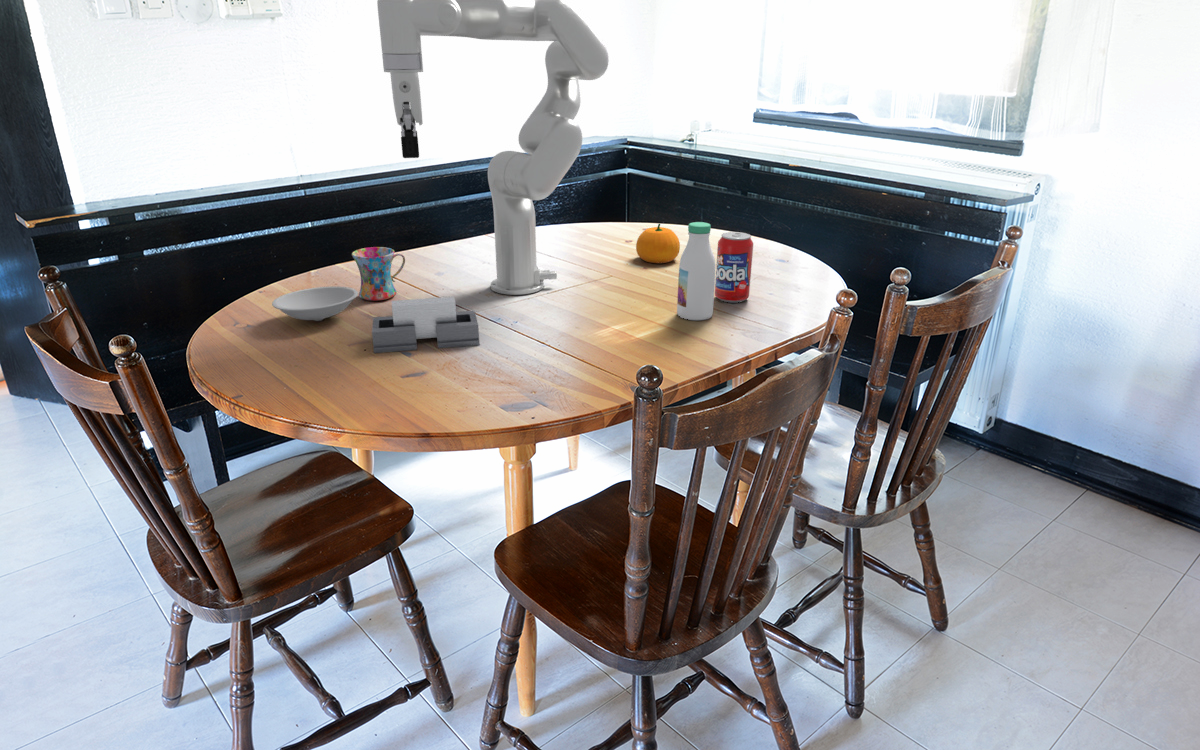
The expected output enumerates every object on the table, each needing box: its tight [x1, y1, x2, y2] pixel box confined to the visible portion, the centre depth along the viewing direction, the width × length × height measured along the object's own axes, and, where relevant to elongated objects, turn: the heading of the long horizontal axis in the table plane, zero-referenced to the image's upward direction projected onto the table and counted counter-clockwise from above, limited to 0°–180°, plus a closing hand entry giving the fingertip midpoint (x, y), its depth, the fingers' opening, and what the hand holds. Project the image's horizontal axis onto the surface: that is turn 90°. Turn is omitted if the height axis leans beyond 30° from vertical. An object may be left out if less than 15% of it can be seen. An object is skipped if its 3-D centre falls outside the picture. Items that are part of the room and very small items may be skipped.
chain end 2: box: [436, 310, 481, 349], centre depth 158 cm, size 8×10×4 cm
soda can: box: [714, 231, 754, 304], centre depth 179 cm, size 8×8×15 cm
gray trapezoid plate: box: [391, 296, 457, 340], centre depth 156 cm, size 12×4×7 cm, turn 104°
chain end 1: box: [371, 315, 418, 354], centre depth 155 cm, size 8×10×4 cm
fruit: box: [635, 223, 681, 264], centre depth 211 cm, size 12×12×10 cm
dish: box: [271, 285, 359, 322], centre depth 167 cm, size 18×14×5 cm
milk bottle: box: [676, 221, 716, 321], centre depth 168 cm, size 8×8×20 cm
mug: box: [351, 246, 406, 301], centre depth 181 cm, size 12×9×11 cm
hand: (410, 154), depth 161 cm, fingers open, 9 cm apart
